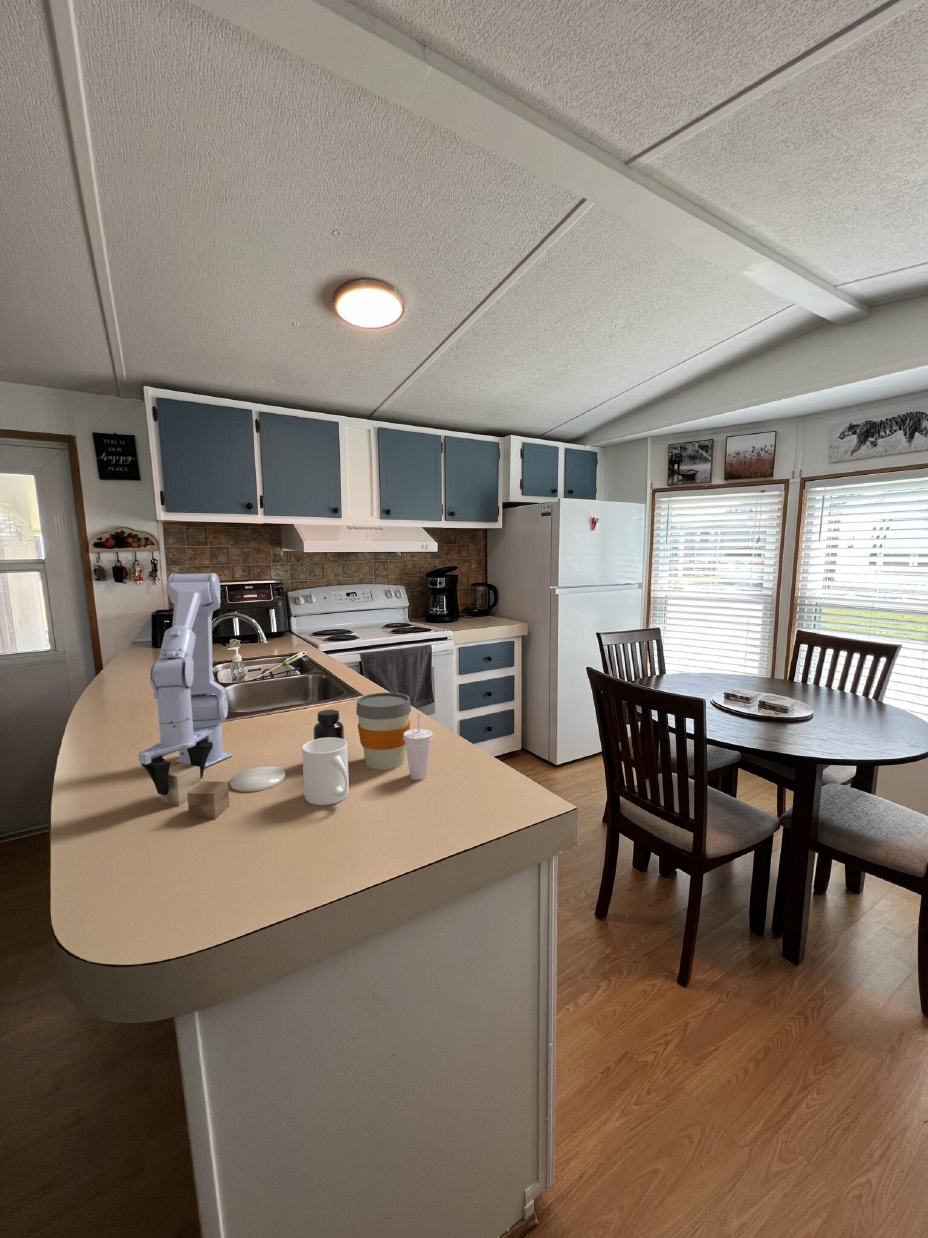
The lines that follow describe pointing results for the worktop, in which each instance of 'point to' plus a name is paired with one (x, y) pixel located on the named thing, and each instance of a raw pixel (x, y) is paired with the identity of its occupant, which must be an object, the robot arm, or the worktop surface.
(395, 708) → the reusable coffee cup
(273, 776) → the coaster
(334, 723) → the supplement bottle
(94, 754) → the worktop surface
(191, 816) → the walnut block
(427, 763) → the smoothie
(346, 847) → the worktop surface
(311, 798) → the mug
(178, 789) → the beech block
